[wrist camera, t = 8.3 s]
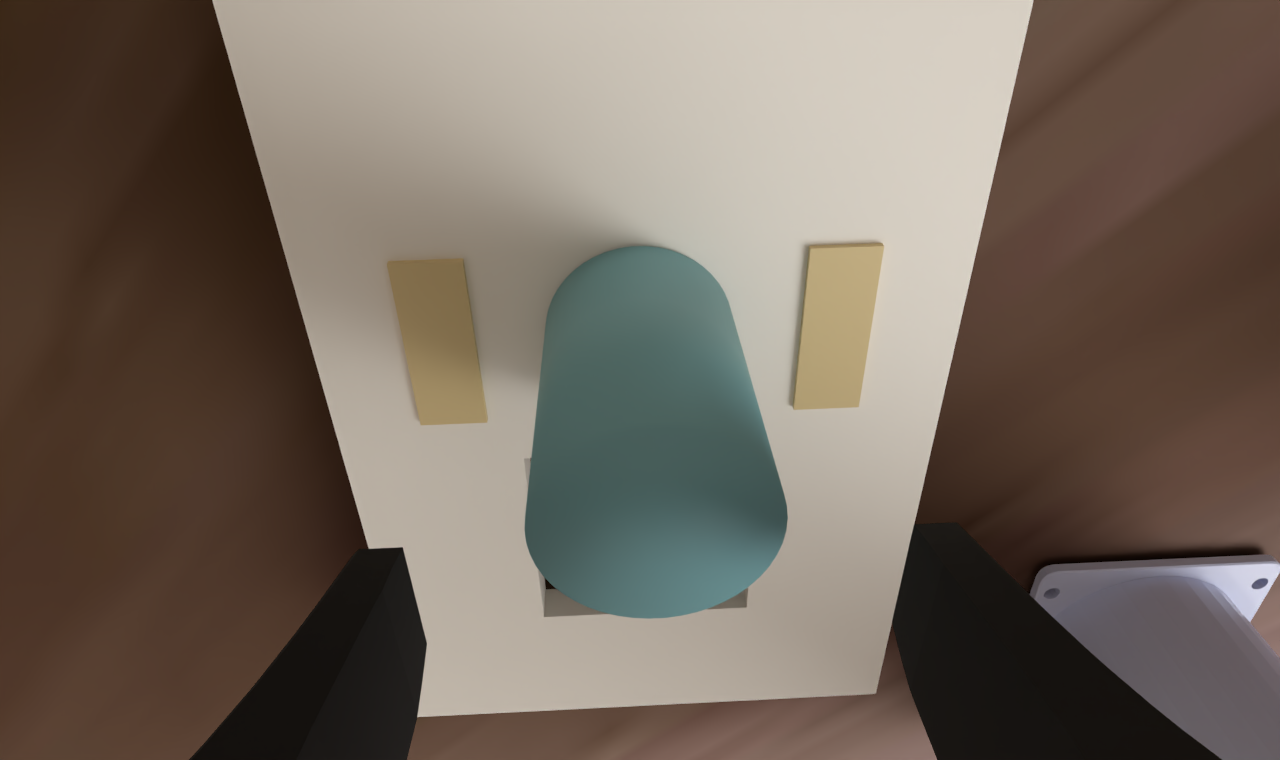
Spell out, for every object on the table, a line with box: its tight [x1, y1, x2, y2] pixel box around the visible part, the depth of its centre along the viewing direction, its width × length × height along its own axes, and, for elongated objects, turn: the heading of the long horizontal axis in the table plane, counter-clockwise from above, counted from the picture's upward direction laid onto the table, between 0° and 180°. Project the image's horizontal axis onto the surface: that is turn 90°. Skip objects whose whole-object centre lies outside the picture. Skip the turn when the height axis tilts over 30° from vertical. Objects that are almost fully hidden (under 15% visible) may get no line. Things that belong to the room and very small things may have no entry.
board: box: [212, 0, 1033, 717], centre depth 20 cm, size 20×14×3 cm
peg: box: [524, 246, 788, 619], centre depth 16 cm, size 4×4×9 cm
